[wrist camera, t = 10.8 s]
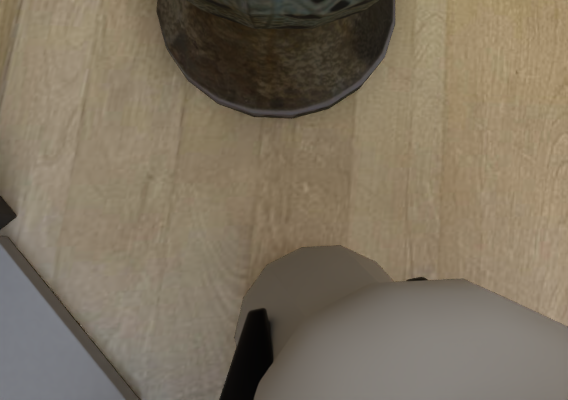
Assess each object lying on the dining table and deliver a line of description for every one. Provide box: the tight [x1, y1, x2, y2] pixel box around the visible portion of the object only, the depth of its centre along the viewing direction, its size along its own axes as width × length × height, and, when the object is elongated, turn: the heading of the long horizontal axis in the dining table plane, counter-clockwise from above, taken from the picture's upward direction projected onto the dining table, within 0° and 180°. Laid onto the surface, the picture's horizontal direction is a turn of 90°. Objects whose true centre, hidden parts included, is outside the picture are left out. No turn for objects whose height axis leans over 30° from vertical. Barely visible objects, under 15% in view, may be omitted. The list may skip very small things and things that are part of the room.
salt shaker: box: [234, 245, 568, 400], centre depth 10 cm, size 6×6×13 cm
